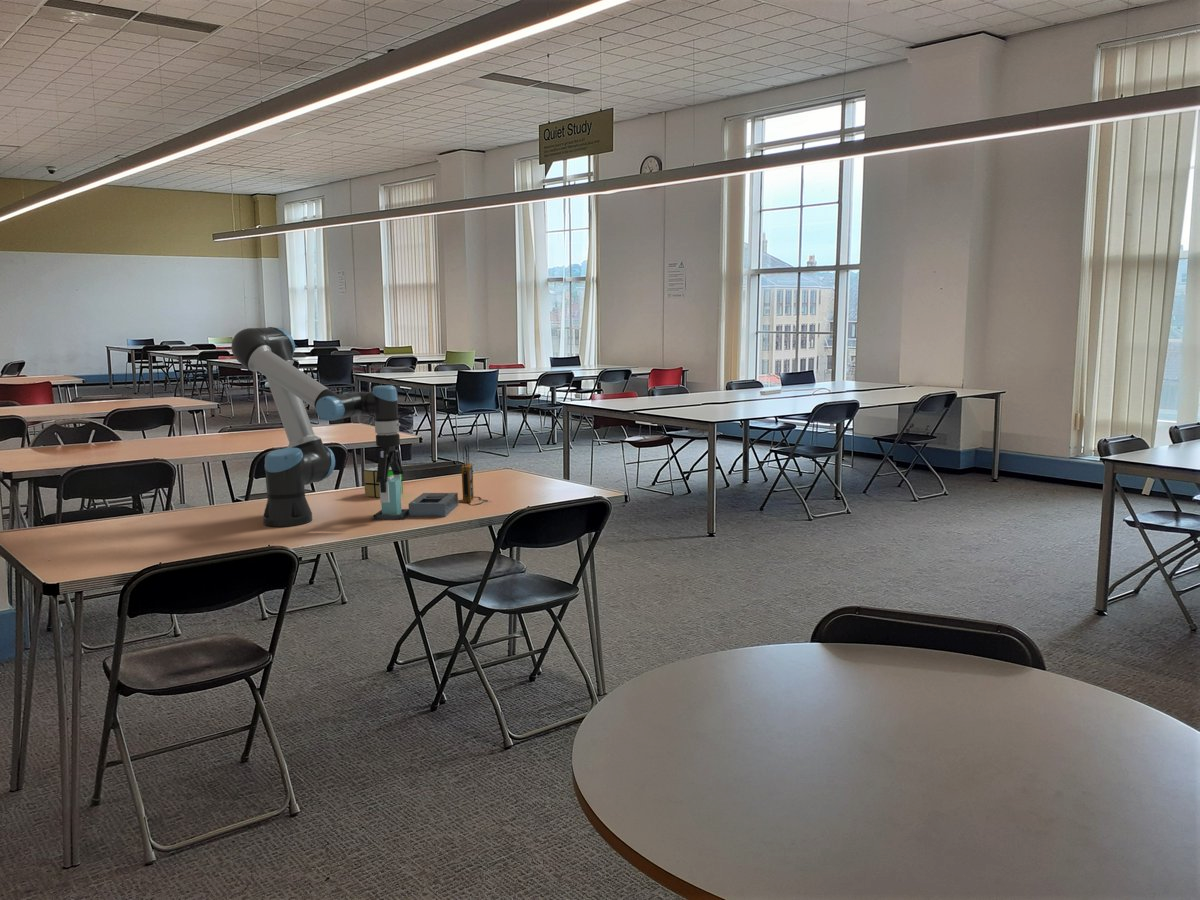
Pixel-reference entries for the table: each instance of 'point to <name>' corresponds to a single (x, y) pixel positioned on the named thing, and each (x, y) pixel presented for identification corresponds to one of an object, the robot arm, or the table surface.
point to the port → (433, 505)
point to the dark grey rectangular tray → (391, 515)
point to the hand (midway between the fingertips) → (391, 498)
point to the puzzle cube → (374, 482)
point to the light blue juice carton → (393, 497)
